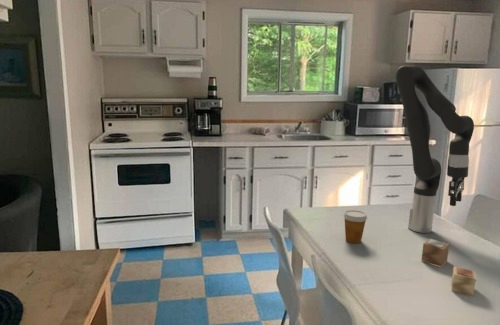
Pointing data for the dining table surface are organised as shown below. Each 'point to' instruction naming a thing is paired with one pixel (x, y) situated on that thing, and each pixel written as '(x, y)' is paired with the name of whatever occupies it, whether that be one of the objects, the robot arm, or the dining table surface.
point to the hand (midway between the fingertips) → (455, 203)
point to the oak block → (463, 281)
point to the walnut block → (435, 252)
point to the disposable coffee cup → (354, 225)
